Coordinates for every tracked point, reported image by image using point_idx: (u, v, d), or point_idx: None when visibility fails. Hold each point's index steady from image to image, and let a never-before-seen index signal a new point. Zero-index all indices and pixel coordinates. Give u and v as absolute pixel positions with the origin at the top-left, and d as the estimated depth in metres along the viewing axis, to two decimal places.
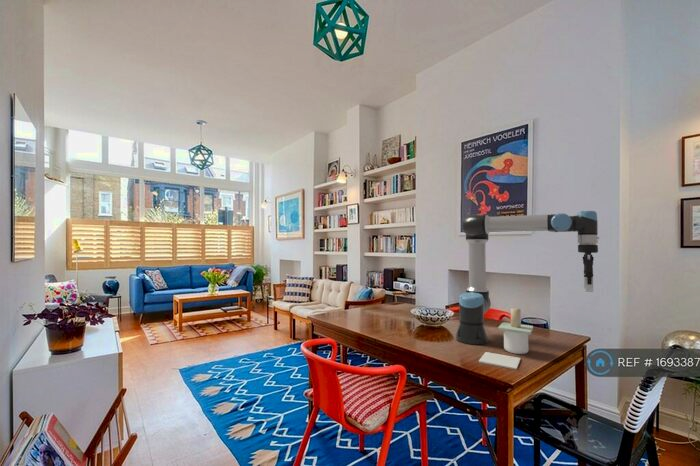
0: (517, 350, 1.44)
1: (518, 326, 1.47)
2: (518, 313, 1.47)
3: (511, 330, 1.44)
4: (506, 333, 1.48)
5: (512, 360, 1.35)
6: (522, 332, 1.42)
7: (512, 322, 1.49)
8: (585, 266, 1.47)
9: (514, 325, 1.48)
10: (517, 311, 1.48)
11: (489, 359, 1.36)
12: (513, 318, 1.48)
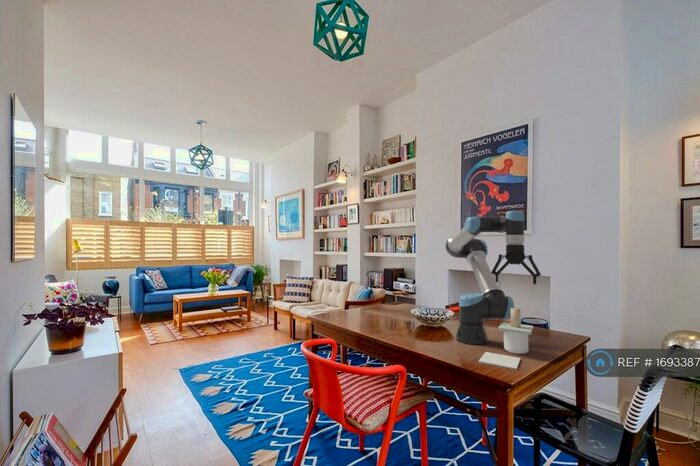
0: (517, 350, 1.44)
1: (518, 326, 1.47)
2: (518, 313, 1.48)
3: (511, 330, 1.44)
4: (506, 333, 1.48)
5: (512, 360, 1.35)
6: (522, 332, 1.42)
7: (512, 322, 1.49)
8: None
9: (514, 325, 1.48)
10: (517, 311, 1.48)
11: (489, 359, 1.36)
12: (513, 318, 1.48)
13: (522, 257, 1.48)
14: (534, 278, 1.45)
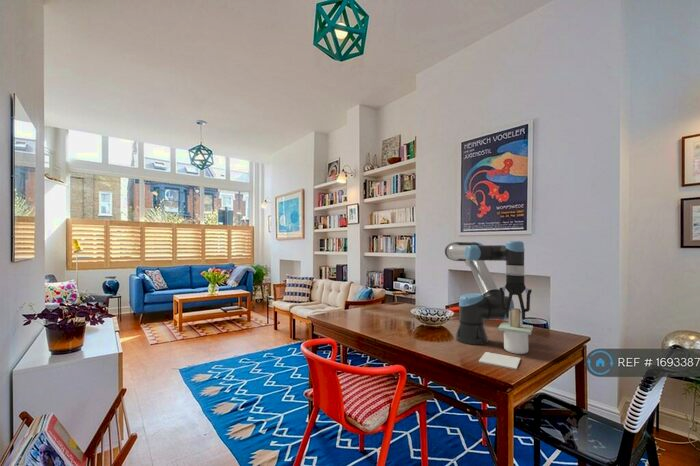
0: (517, 350, 1.44)
1: (518, 326, 1.47)
2: (518, 313, 1.48)
3: (511, 330, 1.44)
4: (506, 333, 1.48)
5: (512, 360, 1.35)
6: (522, 332, 1.42)
7: (512, 322, 1.49)
8: None
9: (514, 325, 1.48)
10: (517, 311, 1.48)
11: (489, 359, 1.36)
12: (513, 318, 1.48)
13: (522, 288, 1.47)
14: (523, 313, 1.47)
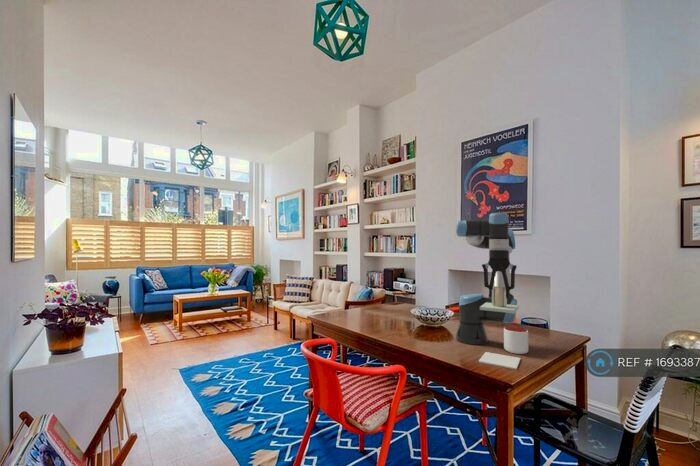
0: (517, 350, 1.44)
1: (502, 305, 1.35)
2: (502, 291, 1.35)
3: (494, 309, 1.32)
4: (506, 333, 1.48)
5: (512, 360, 1.35)
6: (506, 311, 1.29)
7: (495, 301, 1.36)
8: None
9: (497, 304, 1.35)
10: (501, 289, 1.35)
11: (489, 359, 1.36)
12: (496, 297, 1.36)
13: (506, 264, 1.35)
14: (507, 291, 1.35)
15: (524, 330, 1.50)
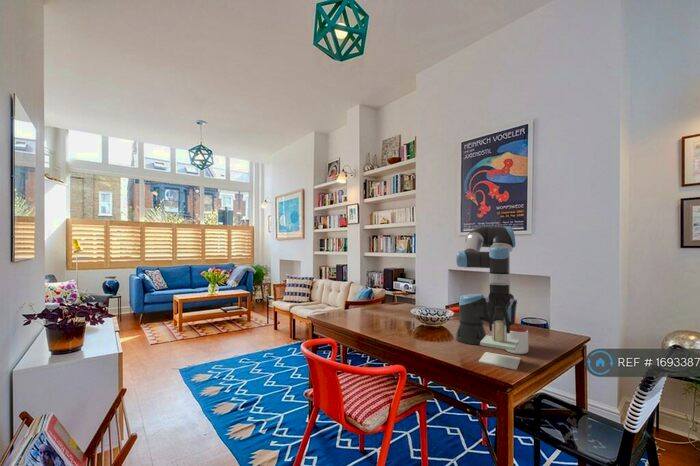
0: (517, 350, 1.44)
1: (502, 340, 1.34)
2: (503, 327, 1.34)
3: (494, 345, 1.31)
4: None
5: (512, 360, 1.35)
6: (506, 348, 1.29)
7: (496, 336, 1.36)
8: None
9: (498, 339, 1.35)
10: (501, 324, 1.34)
11: (489, 359, 1.36)
12: (497, 332, 1.35)
13: (506, 299, 1.34)
14: (507, 327, 1.34)
15: (524, 330, 1.50)
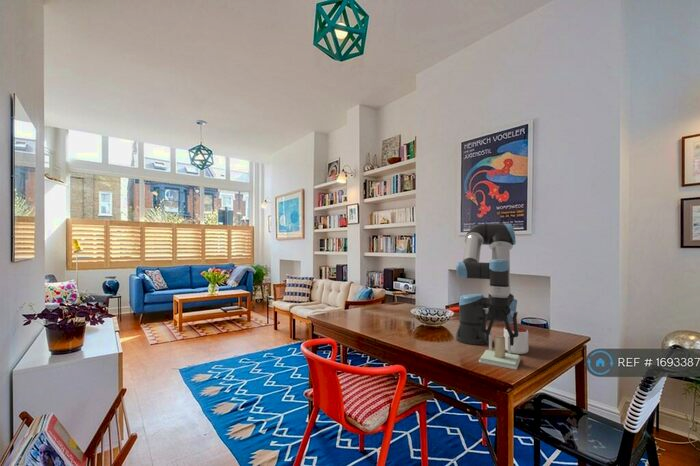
0: (517, 350, 1.44)
1: (502, 356, 1.34)
2: (503, 342, 1.34)
3: (494, 361, 1.31)
4: (506, 333, 1.48)
5: None
6: (506, 364, 1.29)
7: (496, 352, 1.35)
8: None
9: (498, 355, 1.35)
10: (501, 340, 1.34)
11: None
12: (497, 347, 1.35)
13: (506, 311, 1.34)
14: (511, 339, 1.33)
15: (524, 330, 1.50)
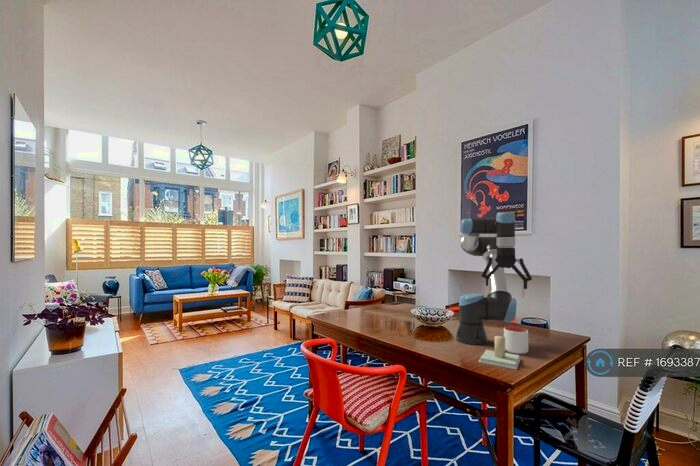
0: (517, 350, 1.44)
1: (502, 356, 1.34)
2: (503, 342, 1.34)
3: (494, 361, 1.31)
4: (506, 333, 1.48)
5: None
6: (506, 364, 1.29)
7: (496, 352, 1.35)
8: None
9: (498, 355, 1.35)
10: (501, 340, 1.34)
11: None
12: (497, 347, 1.35)
13: (513, 261, 1.42)
14: (525, 282, 1.40)
15: (524, 330, 1.50)
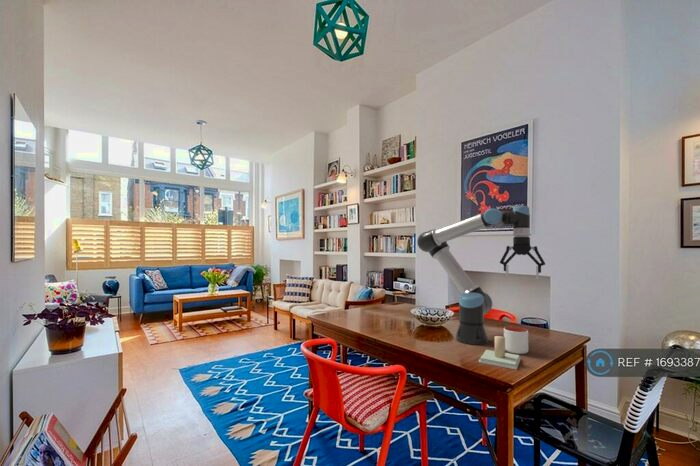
0: (517, 350, 1.44)
1: (502, 356, 1.34)
2: (503, 342, 1.34)
3: (494, 361, 1.31)
4: (506, 333, 1.48)
5: None
6: (506, 364, 1.29)
7: (496, 352, 1.35)
8: None
9: (498, 355, 1.35)
10: (501, 340, 1.34)
11: None
12: (497, 347, 1.35)
13: (528, 248, 1.62)
14: (539, 267, 1.60)
15: (524, 330, 1.50)
